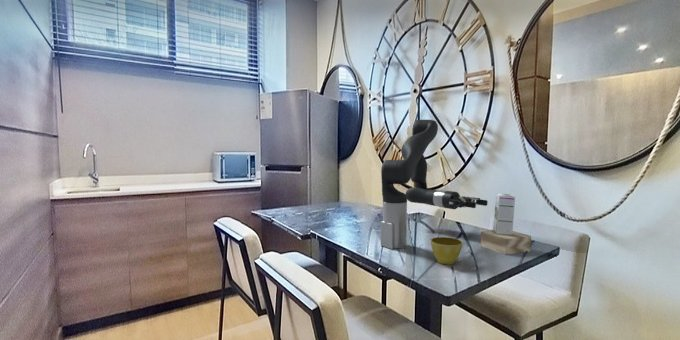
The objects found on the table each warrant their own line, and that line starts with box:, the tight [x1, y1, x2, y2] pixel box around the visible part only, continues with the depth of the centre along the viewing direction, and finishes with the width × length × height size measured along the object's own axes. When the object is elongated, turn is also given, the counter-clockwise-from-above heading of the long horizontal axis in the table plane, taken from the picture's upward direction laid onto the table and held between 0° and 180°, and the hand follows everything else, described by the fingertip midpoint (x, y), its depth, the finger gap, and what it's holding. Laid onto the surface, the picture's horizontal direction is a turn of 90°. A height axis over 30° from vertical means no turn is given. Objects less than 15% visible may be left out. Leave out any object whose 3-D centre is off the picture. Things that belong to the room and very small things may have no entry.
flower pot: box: [430, 236, 463, 265], centre depth 116 cm, size 10×10×7 cm
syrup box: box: [492, 193, 516, 235], centre depth 131 cm, size 6×6×14 cm
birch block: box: [480, 229, 532, 255], centre depth 131 cm, size 12×12×6 cm
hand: (481, 204), depth 138 cm, fingers open, 8 cm apart
